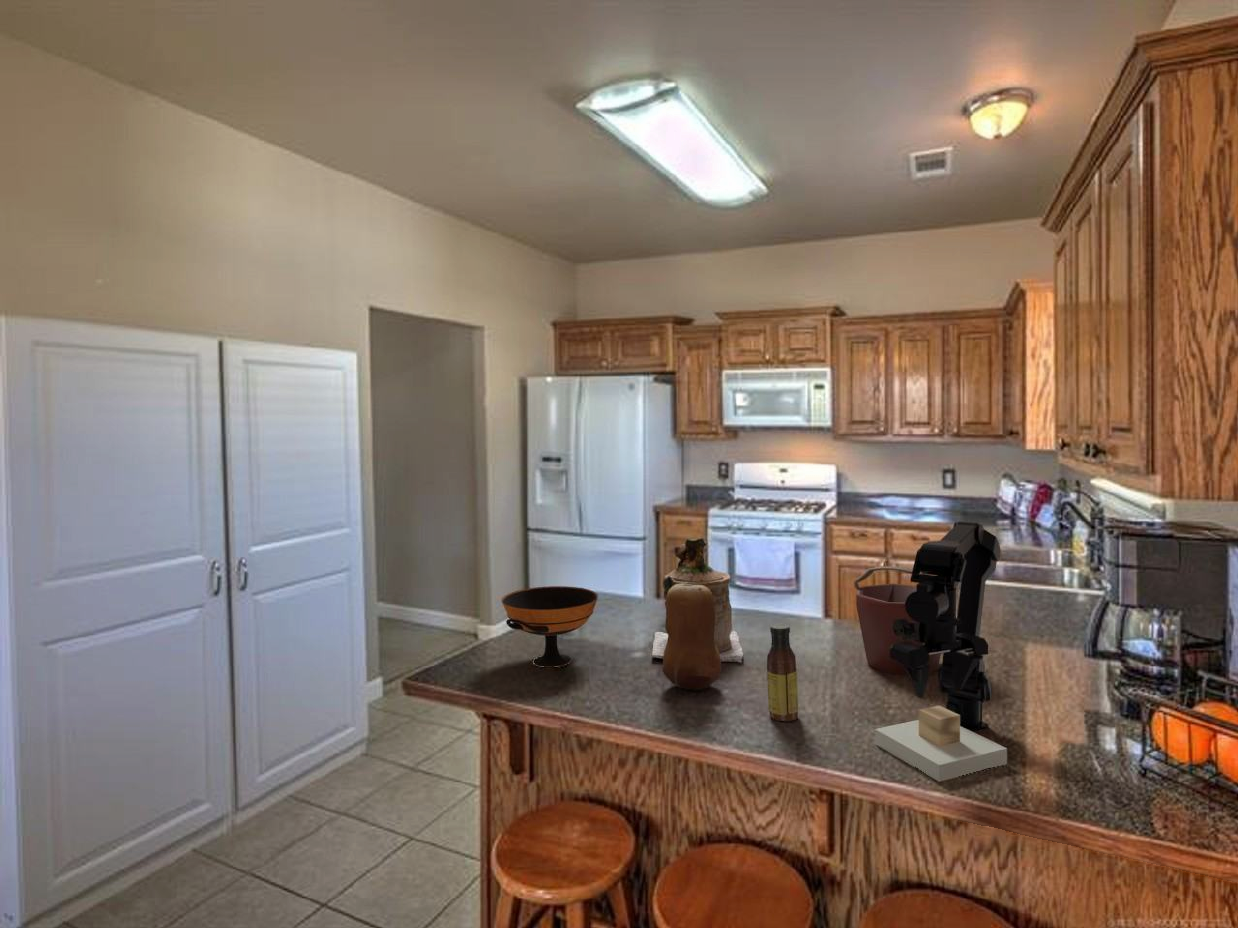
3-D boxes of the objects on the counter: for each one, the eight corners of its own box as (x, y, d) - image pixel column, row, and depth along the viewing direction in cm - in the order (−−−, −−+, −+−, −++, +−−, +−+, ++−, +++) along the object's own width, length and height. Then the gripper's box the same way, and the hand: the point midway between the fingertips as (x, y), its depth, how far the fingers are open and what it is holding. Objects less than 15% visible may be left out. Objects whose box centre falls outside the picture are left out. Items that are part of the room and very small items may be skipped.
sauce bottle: (793, 710, 156) (793, 620, 155) (802, 722, 149) (801, 629, 148) (764, 711, 156) (763, 621, 154) (771, 723, 149) (770, 630, 148)
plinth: (938, 729, 145) (938, 715, 145) (1006, 764, 130) (1007, 748, 130) (875, 743, 139) (875, 728, 139) (939, 781, 124) (939, 764, 124)
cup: (560, 692, 169) (558, 618, 168) (471, 678, 180) (469, 609, 179) (622, 647, 202) (621, 586, 201) (544, 638, 212) (543, 579, 211)
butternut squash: (704, 674, 179) (703, 576, 178) (731, 692, 167) (730, 587, 165) (653, 682, 174) (652, 581, 173) (677, 702, 162) (676, 593, 160)
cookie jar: (738, 636, 211) (737, 529, 209) (745, 664, 186) (744, 543, 184) (654, 635, 213) (653, 529, 211) (650, 663, 189) (648, 543, 187)
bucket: (835, 657, 190) (835, 564, 189) (894, 644, 200) (894, 556, 199) (910, 686, 168) (911, 582, 167) (972, 670, 178) (973, 571, 177)
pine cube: (939, 730, 137) (939, 705, 137) (959, 741, 133) (960, 715, 132) (918, 735, 136) (918, 709, 135) (939, 746, 131) (939, 719, 131)
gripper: (944, 597, 144) (943, 673, 145) (869, 606, 137) (869, 686, 138) (990, 610, 133) (989, 692, 134) (912, 621, 127) (912, 707, 127)
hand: (938, 693), depth 134 cm, fingers open, 9 cm apart
